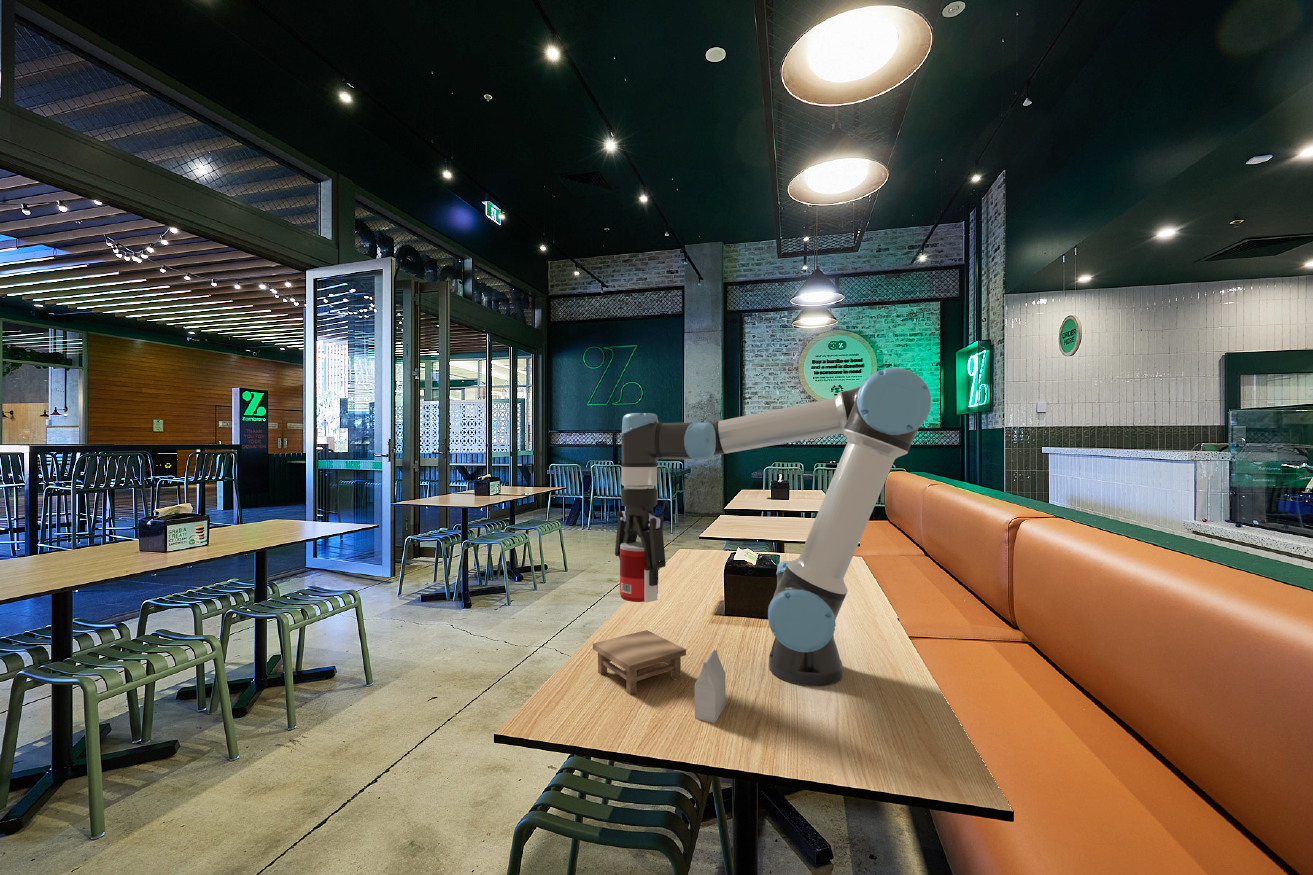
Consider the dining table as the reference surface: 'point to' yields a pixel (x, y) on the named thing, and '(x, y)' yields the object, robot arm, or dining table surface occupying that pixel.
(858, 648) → the dining table surface
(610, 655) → the stool
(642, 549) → the canned food
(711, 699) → the grey pointed block
